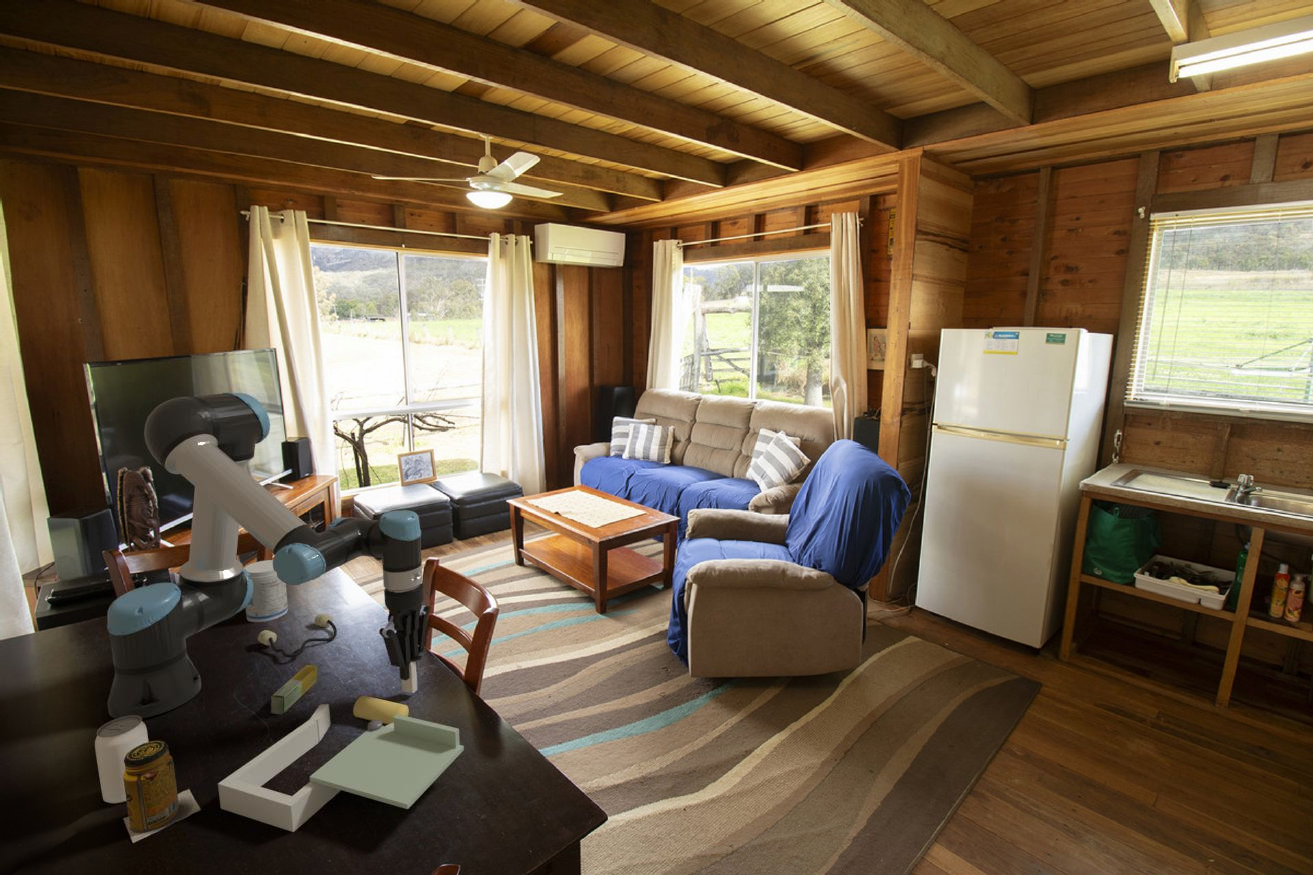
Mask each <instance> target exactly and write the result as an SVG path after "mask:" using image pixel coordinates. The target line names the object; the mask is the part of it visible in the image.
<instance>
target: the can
mask: <svg viewBox="0 0 1313 875" xmlns="http://www.w3.org/2000/svg"><path fill="white" fill-rule="evenodd" d="M96 735H97V736H96V738H95V740H94V748H95V756H96V763H97V769H98V776H99V783H100V789H101V793H102V794H101V795H102V799H103V801H104V802H106V803H108V804H121V803H127V800H126V794H125V786H124V780H123V775H124V772H125V763H124V759H125V756H126V754H127V753H128V752H129V751H131V750H132V749H134V748H135V747H137V746H139V745H141V744H144V743H147V742H149V738H148V735H149V734H148V730H147V726H146V724H145V722H144V721H143V718H141V717H140V716H136V715H132V716H125V717H121V718H118V719H115V718H114V719H113V720H110V721H108V722H107V723H104V724H103V725H102V726H100V728H98V730H97V731H96Z"/></svg>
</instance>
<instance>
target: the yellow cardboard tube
mask: <svg viewBox="0 0 1313 875" xmlns="http://www.w3.org/2000/svg"><path fill="white" fill-rule="evenodd" d="M352 710H353V711H352V712H353V716H355V717H356V718H360V719H363V720H368V721H370V722H371V721H373V720H381V721H382V724H384V725H389V724H391V723H393V722H394V721H393V717H395V716H396V715H397V714H398V715H403V716H407V717H409V712H410V711H409V706H408V705H407V704H403V703H399V702H393V701H389V700H385V699H380V698H376V697H372V696H367V695H362V696H360V697H359V698H358V699H357V700H356V701H355V704H354V705H353V709H352Z"/></svg>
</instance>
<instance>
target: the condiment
mask: <svg viewBox="0 0 1313 875" xmlns="http://www.w3.org/2000/svg"><path fill="white" fill-rule="evenodd" d="M124 763H125V772H124V775H123V780H124V786H125V794H126V800H127V801H126V806H127V815H128V816H127V817H123V821H124V824H125V827H126V830H127V832H128V834H129V837H130V840H131V842H132V843H133V844H135V843H136V842H139V841H140V840H142V839H144V838H147V837H149V836H151V835H153V834H155V833H158V832H161V830H164V829H166V828H168V827H170V826H172V825H174V824H175V823H177V822H180V821H181V820H184V819H186V818H188V817H189V816H191V815H193V814H195V813H198V812H200V811H201V810H202V809H201V807H200V805H199V804H198V802H197V801H196V799H195V798H194V796H193V793H192V792H191V790H190V788H188V789H186V790H183V791H181V792H179V793H178V788H177V787H178V786H177V779H176V773H175V772H176V770H175V764H174V759H173V757H172V755H170V751H169V745H168V743H167V742H166V741H164V740H153V741H152V740H150V741H148V742H147V743H144V744H141V745H139V746H137V747H135V748H134V749H132V750H131V751H129V752H128V753H127V754H126V756H125V759H124Z"/></svg>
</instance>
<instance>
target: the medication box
mask: <svg viewBox="0 0 1313 875" xmlns="http://www.w3.org/2000/svg"><path fill="white" fill-rule="evenodd" d="M317 681H318V666H316V665H310V664H309V665H308V664H306V665H305V666H303V668H301V669H300V670H299V671H298V672H296V673H295V675H294V676H292V677H291V678H290V679H289V680H288V681H287V682H286V683H285V684H283V685H282V686H281V687H280V688H279V689H277V691H275V693H273V694H272V695H271V696H270V699H271V700H270V713H271V714H273V715H283V714H284V713H285V712H287V711H288V709H290V707H292V706H293V705H294V703H296V702H297V701H298V700H299V699H300V698H302V696H303V695H304V694H305V693H306V692H308V691H309V690H310V689H311V687H313V686H314V685H315V684H316V683H317Z"/></svg>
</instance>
